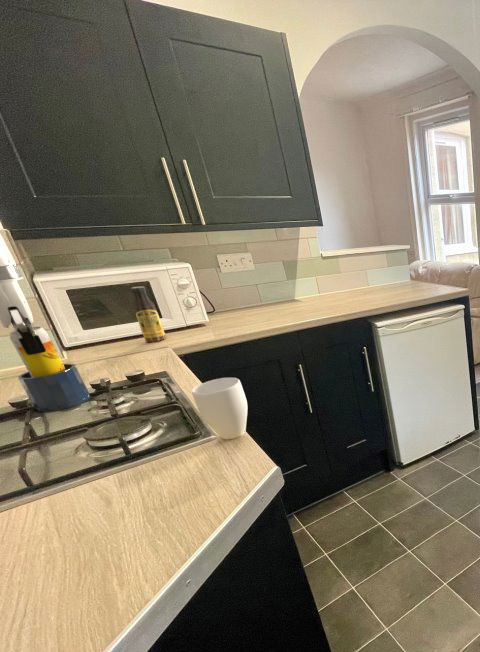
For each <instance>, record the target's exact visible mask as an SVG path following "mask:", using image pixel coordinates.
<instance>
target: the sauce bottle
mask: <svg viewBox="0 0 480 652" xmlns="http://www.w3.org/2000/svg"><path fill="white" fill-rule="evenodd" d="M130 291H131V293H132V295H133V298H134V302H133V310H134V312H135V317H136V319H137V322H138V325H139V327H140V330H141V333H142V336H143V337H144V340H145V342H146V343H155V342H160V340H161V341H164V340H165V339H166V333H165V331H164V327H163V324H162V321H161V318H160V316H159V313H158V310H157V308H156V305H155V303H154V302H153V301H152V300H150V298H149V296H148V293H147V288H146V287H145V286H132V287H130ZM163 339H164V340H163Z"/></svg>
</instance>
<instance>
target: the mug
mask: <svg viewBox="0 0 480 652" xmlns="http://www.w3.org/2000/svg"><path fill="white" fill-rule="evenodd" d="M191 395H192V397H193V400H194V403H195V405H196V407H197V411H198V412H199V415H200V417H201V418H202V419H203V421H204V422H205V423H206V424H207V425H208V426H209V427H210V428H211V429H212V430H213V431H214V432H215V433H216V434H217V435H218V436H219V437H220V438H221V439H222V440H233V439H236V438H239V437H241V436H243V435H245V433H246V429H247V421H248V420H247V419H248V411H249V410H248V401H247V398H246V394H245V391H244V388H243V385H242V382H241V380H240V379H239V378H237V377H221V378H216V379H211V380H208V381H204V382H203V383H200V384H198V385H196V386H195V387H194V388H192V389H191ZM243 430H244V431H245V432H244V431H243Z"/></svg>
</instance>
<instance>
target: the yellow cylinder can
mask: <svg viewBox="0 0 480 652" xmlns="http://www.w3.org/2000/svg"><path fill="white" fill-rule="evenodd" d="M33 329H34V331H35V333H36V335H38V336H39V338H40V340H41V342H42V344H43V345H44V347H45V349H46V352H42V353H37V354H32V355H27V354H26V352H25V350H24V348H23V346H22V345H21V343H20V341H19V339H20V338H19V337H18V335H17V333H16V331H15V330H11V331H10V332H9V339H10V341H11V343H12V345H13V346H14V348H15V350H16V351H17V354H18V356H19V357H20V359H21V361H22V363H23V365H24V366H25V368H26V370H27V372H29V373H30V375H31V377H32V378H34V377H41V376H46V375H51V374H55V373H58V372H62V371H64V370H66V369H65V367H64V365H63V364H64V362H63V361H62V358H61V357H60V355H59V353H58V351H57V349H56V348H55V345H54V344H53V341H52V339H51V338H50V336H49V334H48V332H47V330H45V329H44V328H43V327H42V326H34V327H33Z"/></svg>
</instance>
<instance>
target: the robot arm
mask: <svg viewBox="0 0 480 652" xmlns="http://www.w3.org/2000/svg"><path fill="white" fill-rule="evenodd" d="M21 280H24V277H23V274H22V273H21V271H20V269H19V267H18V265H17V263H16V262H15V259H14V257H13V255H12V253H11V251H10V249H9V247H8V246H7V243H6V241H5V239H4V238H3V236H2V234H1V233H0V323H1V325H2V327H3V328H6V329H9V326H11V325H12V328H13V329H14V331H16V333H17V335H18V337H19V338H20V339H19V341H20V343H21V345H22V346H23V348H24V350H25V352H26V354H27V355H32V354H37V353H42V352H46V349H45V347H44V345H43V344H42V342H41V340H40V338H39V336H38V335H36V333H35V331H34V329H33V327H35V326H34V322H35V320H34V317H33V313H32V310H31V307H30V305H29V303H28V300H27V298H26V296H25V294H24V293H23V290H22V289H21V286H20V285H19V282H18V281H21Z"/></svg>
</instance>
